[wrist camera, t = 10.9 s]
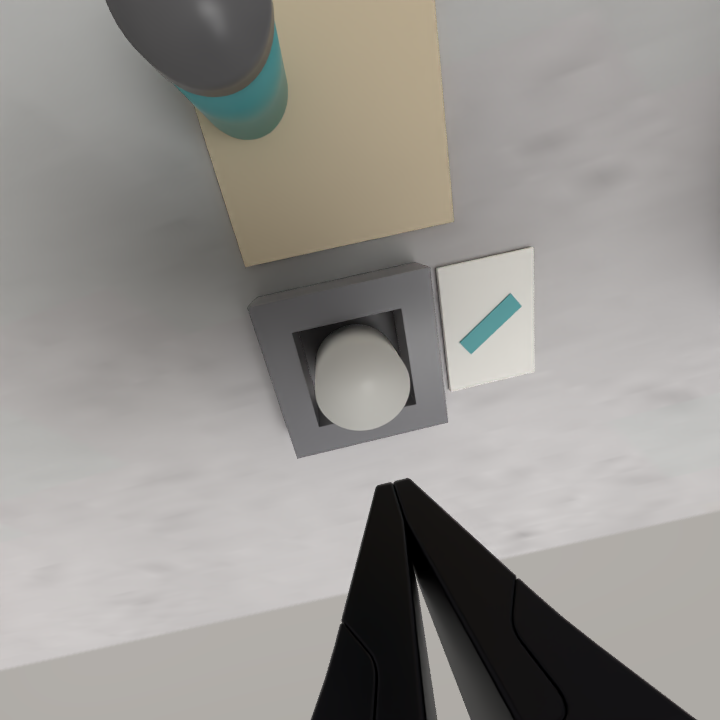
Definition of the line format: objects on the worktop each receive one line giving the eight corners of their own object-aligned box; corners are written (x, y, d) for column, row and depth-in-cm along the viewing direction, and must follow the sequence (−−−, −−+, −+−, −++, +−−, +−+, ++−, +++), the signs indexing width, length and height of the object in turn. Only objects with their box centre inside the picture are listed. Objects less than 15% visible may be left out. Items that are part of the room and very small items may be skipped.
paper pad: (410, -229, 11) (413, -245, 11) (450, 221, 16) (453, 221, 16) (106, -178, 11) (98, -192, 10) (247, 266, 16) (245, 267, 16)
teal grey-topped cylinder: (273, 16, 13) (239, -152, 7) (300, 131, 14) (288, 66, 8) (175, 35, 12) (61, -121, 7) (211, 149, 14) (140, 96, 8)
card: (530, 246, 17) (535, 247, 17) (531, 370, 20) (535, 372, 19) (435, 267, 17) (438, 268, 17) (449, 389, 20) (451, 392, 19)
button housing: (415, 262, 17) (429, 266, 15) (433, 400, 20) (448, 422, 18) (256, 297, 17) (247, 307, 14) (299, 432, 20) (297, 458, 17)
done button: (388, 316, 16) (402, 333, 13) (400, 389, 18) (416, 418, 15) (306, 334, 16) (303, 356, 13) (325, 406, 18) (327, 439, 15)
